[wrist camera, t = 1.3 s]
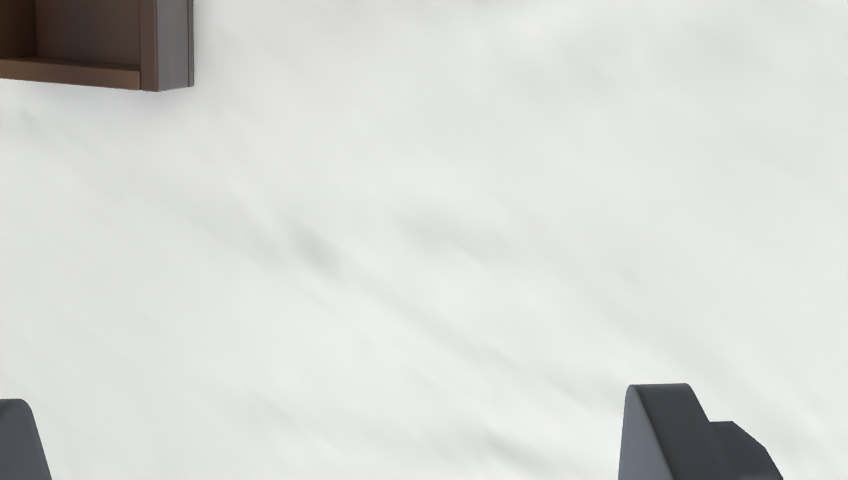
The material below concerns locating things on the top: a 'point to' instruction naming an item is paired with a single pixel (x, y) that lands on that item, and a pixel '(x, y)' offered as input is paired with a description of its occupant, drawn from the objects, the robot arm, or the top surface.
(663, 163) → the top surface
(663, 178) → the top surface
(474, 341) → the top surface
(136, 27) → the tray
